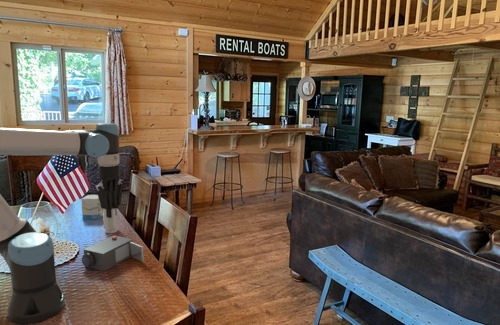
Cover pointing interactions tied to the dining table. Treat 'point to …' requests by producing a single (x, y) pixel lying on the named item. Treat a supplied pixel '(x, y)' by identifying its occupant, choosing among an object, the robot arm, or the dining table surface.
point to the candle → (108, 227)
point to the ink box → (91, 207)
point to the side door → (136, 251)
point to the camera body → (106, 253)
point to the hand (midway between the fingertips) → (112, 224)
